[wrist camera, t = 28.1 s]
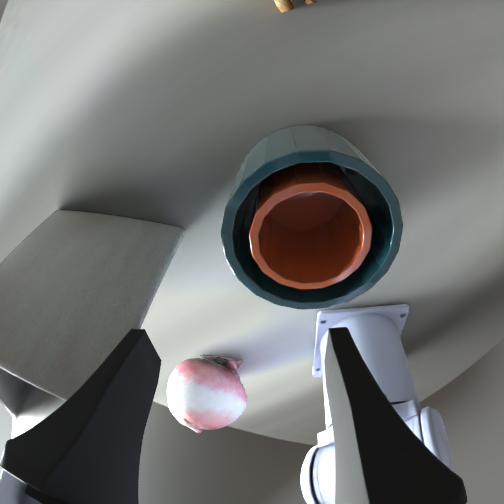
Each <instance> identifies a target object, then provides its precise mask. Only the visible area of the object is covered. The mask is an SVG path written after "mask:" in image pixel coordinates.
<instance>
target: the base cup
mask: <svg viewBox="0 0 504 504" xmlns="http://www.w3.org/2000/svg"><path fill="white" fill-rule="evenodd" d="M310 162H331V163H334V164H337V165H338V166H339V167H340V168H341V169H342V170H343V172H344V173H345V175H346V177H347V178H348V180H349V181H350V183H351V185H352V186H353V188H354V190H355V191H356V193H357V195H358V196H359V198H360V200H361V201H362V203H363V205H364V207H365V208H366V211H367V214H368V217H369V219H370V222H371V225H372V236H371V245H370V250H369V251H368V253H367V255H366V257H365V258H364V260H363V262H362V264H361V265H360V267H359V268H358V269H356V270H355V271H354V272H353V273H352V274H350V275H349V276H348V277H347V278H345V279H344V280H342V281H340V282H338V283H335V284H332V285H330V286H327V287H324V288H323V287H322V288H316V289H298V288H294V287H290V286H286V285H283V284H280V283H278V282H277V281H275V280H274V279H272V278H271V277H269V276H268V275H267V274H265V273H264V272H263V271H262V270H261V268H260V267H259V265H258V264H257V262H256V261H255V259H254V257H253V256H252V254H251V246H250V239H249V231H250V225H251V219H252V213H253V206H254V200H255V194H256V189H257V186H258V184H259V183H260V182H261V181H262V180H264V179H265V178H266V177H267V176H269V175H270V174H271V173H273V172H276V171H278V170H281V169H284V168H287V167H289V166H292V165H295V164H298V163H310ZM402 229H403V222H402V216H401V211H400V205H399V202H398V199H397V197H396V195H395V194H394V192H393V190H392V189H391V187H390V186H389V184H388V182H387V181H386V179H385V178H384V177H383V176H382V175H381V173H380V172H379V171H378V170H377V169H376V168H375V167H374V166H373V165H372V164H371V163H370V162H369V161H368V160H367V158H366V157H365V156H364V155H363V154H362V153H361V152H360V151H359V150H358V149H357V148H356V147H355V146H354V145H352V144H351V143H350V142H348V141H347V140H346V139H345V138H343V137H342V136H340V135H339V134H337V133H335V132H333V131H331V130H329V129H325V128H322V127H318V126H312V125H296V126H290V127H286V128H282V129H279V130H277V131H274V132H272V133H271V134H269V135H267V136H265V137H264V138H263V139H261V140H260V141H259V142H258V143H257V144H256V145H255V146H254V147H253V148H252V149H251V150H250V152H249V153H248V154H247V156H246V158H245V159H244V161H243V163H242V165H241V167H240V169H239V172H238V174H237V177H236V180H235V183H234V185H233V188H232V191H231V194H230V196H229V199H228V202H227V205H226V208H225V212H224V218H223V223H222V228H221V238H222V244H223V249H224V255H225V257H226V258H225V259H226V260H227V262H228V264H229V265H230V267H231V269H232V271H233V272H234V274H235V276H236V277H237V278H238V280H239V281H240V282H242V283H243V284H244V285H245V286H246V287H247V288H248V289H249V290H251V291H252V292H253V293H254V294H255V295H257V296H259V297H261V298H263V299H265V300H268V301H270V302H272V303H274V304H276V305H280V306H285V307H290V308H296V309H320V308H328V307H331V306H335V305H338V304H342V303H345V302H348V301H350V300H352V299H354V298H356V297H357V296H359V295H361V294H362V293H364V292H366V291H368V290H369V289H370V288H372V287H373V286H374V285H375V284H376V283H377V282H378V281H379V280H380V279H381V278H382V277H383V276H384V275H385V274H386V272H387V271H388V270H389V268H390V266H391V264H392V262H393V260H394V259H395V257H396V255H397V253H398V250H399V247H400V241H401V235H402Z"/></svg>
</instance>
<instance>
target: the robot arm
mask: <svg viewBox="0 0 504 504" xmlns="http://www.w3.org/2000/svg"><path fill="white" fill-rule="evenodd" d="M408 313H409V306H408V305H407V304H400V305H389V306H378V307H365V308H352V309H336V310H322V311H320V312H319V313H318V314H317V326H316V339H315V351H314V362H313V376H314V377H323V387H324V400H325V415H326V431H323V432H320V433H318V445H316V446H314V447H313V448H311V449H310V451H309V452H308V454H307V456H306V458H305V461H304V463H303V466H302V470H301V488H302V493H303V496H304V498H305V500H306V502H307V504H466V503H467V496H466V490H465V487H464V483H463V481H462V479H461V478H460V477H459V476H458V475H456V474H455V473H454V470H453V461H452V455H451V450H450V446H449V441H448V437H447V434H446V430H445V427H444V424H443V421H442V418H441V416H440V414H439V412H438V411H437V410H434V409H431V407H425V408H423V409H421V407H420V405H419V401H418V397H417V393H416V389H415V385H414V382H413V378H412V375H411V371H410V368H409V364H408V361H407V358H406V355H405V351H404V348H403V345H402V342H401V339H400V336H401V333H402V330H403V328H404V325H405V322H406V319H407V316H408ZM322 320H323V321H322ZM160 366H161V359H160V357H159V356H158V354H157V352H156V350H155V348H154V346H153V344H152V343H151V341H150V339H149V337H148V335H147V333H146V331H145V329H131V330H130V331H129V332H128V333H127V334H126V335H125V337H124V338H123V339H122V340H121V341H120V343H119V344H118V345H117V346H116V347H115V348H114V350H113V351H112V352H111V353H110V354H109V356H108V357H107V358H106V359H105V360H104V362H103V363H102V364H101V365H100V366H99V367H98V369H97V370H96V371H95V372H94V373H93V374H92V375H91V376H90V377H89V379H88V380H87V381H86V382H85V383H84V384H83V385H82V386H81V387H80V388H79V389H78V390H77V391H76V392H75V393H74V394H73V395H72V396H71V397H70V398H69V399H68V400H67V401H66V402H65V403H64V404H62V405H61V406H60V407H59V408H58V409H56V410H55V411H54V412H53V413H51V414H50V415H49V416H47V417H46V418H45V419H44V420H42V421H41V422H39V423H38V424H36V425H35V426H33V427H32V428H30V429H29V430H27V431H25V432H23V433H22V434H20V435H18V436H16V437H14V438H12V439H10V440H8V441H7V442H6V445H5V448H4V450H3V454H2V456H1V459H0V466H1V467H2V468H4V469H5V470H2V472H1V475H0V504H138V475H139V463H140V454H141V446H142V439H143V434H144V430H145V426H146V423H147V419H148V415H149V412H150V409H151V405H152V402H153V398H154V395H155V391H156V388H157V384H158V378H159V373H160ZM6 470H7V471H6Z"/></svg>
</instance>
